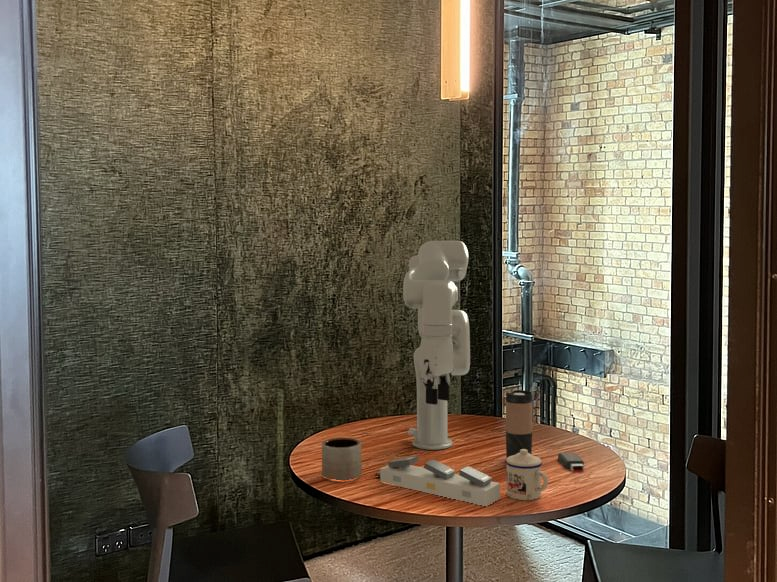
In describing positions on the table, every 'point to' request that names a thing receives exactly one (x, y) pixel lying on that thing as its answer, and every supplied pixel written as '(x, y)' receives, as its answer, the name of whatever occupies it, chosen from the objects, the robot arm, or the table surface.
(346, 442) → the planter
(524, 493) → the teacup with lid
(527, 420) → the travel mug
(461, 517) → the table surface
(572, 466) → the usb drive
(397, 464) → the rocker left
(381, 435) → the table surface
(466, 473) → the rocker right
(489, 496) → the power strip
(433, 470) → the rocker middle
